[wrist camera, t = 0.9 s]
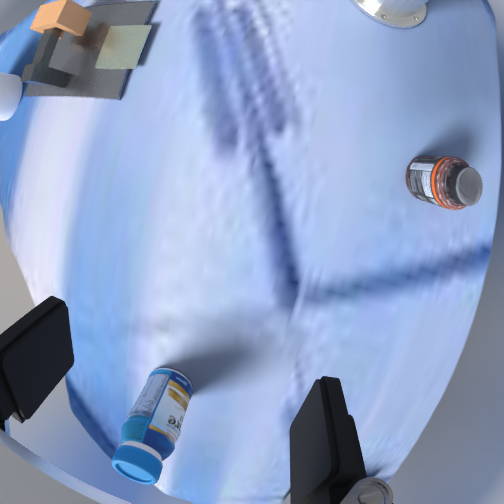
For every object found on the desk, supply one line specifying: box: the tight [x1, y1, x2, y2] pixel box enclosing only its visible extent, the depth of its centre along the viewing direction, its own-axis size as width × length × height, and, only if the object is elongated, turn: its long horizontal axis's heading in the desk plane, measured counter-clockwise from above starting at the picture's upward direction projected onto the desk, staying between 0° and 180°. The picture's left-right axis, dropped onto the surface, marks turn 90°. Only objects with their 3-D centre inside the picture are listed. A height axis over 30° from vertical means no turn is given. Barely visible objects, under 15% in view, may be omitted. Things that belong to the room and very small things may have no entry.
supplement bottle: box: [406, 156, 483, 210], centre depth 27 cm, size 6×6×11 cm
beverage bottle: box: [112, 368, 193, 485], centre depth 36 cm, size 8×8×20 cm
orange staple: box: [30, 0, 92, 39], centre depth 23 cm, size 4×6×7 cm, turn 74°
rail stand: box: [20, 1, 156, 100], centre depth 25 cm, size 16×22×9 cm
